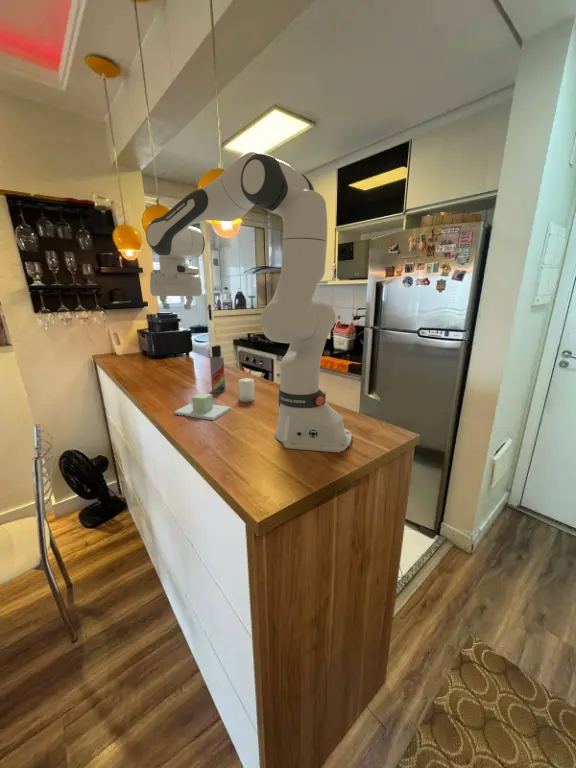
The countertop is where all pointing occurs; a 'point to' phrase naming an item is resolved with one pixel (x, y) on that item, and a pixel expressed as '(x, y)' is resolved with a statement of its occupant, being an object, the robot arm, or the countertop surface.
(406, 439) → the countertop surface
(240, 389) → the white rounded cylinder
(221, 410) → the tray
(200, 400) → the sage block
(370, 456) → the countertop surface
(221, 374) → the lotion bottle
